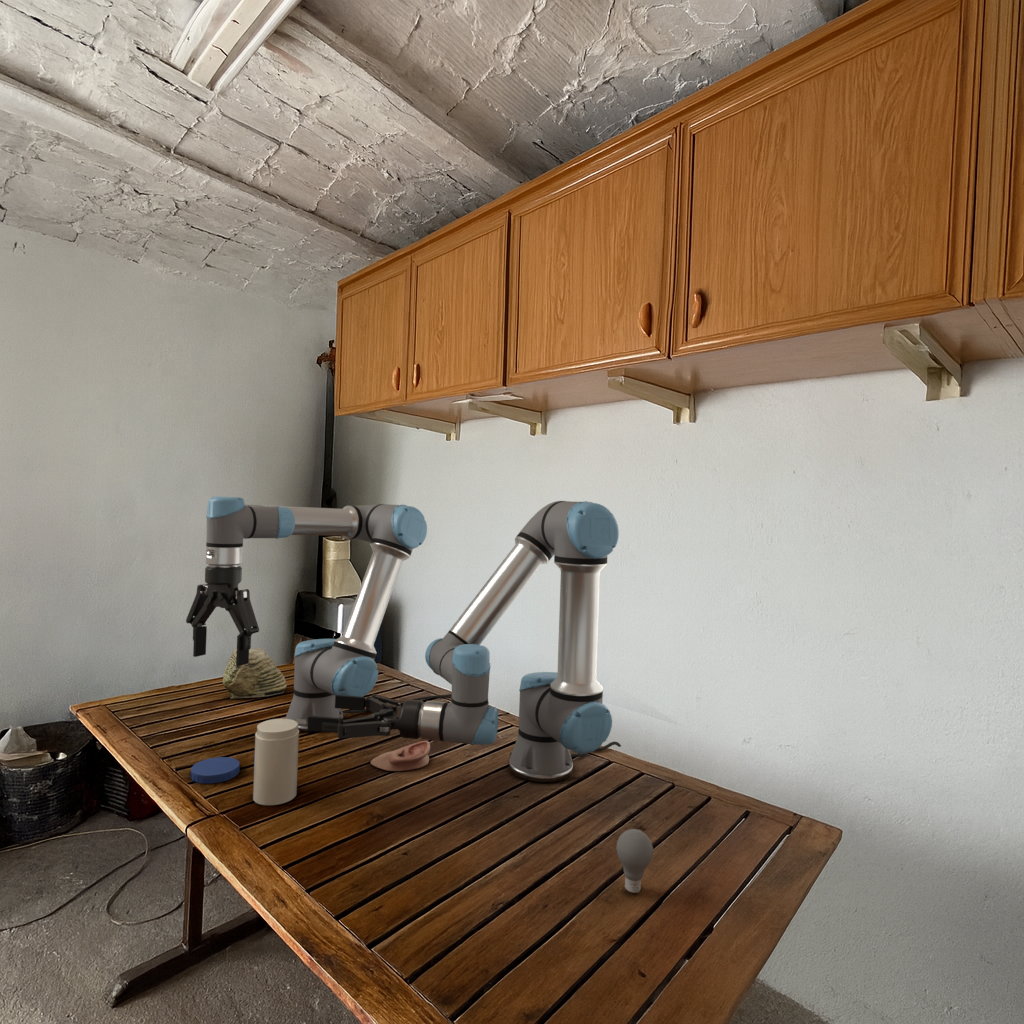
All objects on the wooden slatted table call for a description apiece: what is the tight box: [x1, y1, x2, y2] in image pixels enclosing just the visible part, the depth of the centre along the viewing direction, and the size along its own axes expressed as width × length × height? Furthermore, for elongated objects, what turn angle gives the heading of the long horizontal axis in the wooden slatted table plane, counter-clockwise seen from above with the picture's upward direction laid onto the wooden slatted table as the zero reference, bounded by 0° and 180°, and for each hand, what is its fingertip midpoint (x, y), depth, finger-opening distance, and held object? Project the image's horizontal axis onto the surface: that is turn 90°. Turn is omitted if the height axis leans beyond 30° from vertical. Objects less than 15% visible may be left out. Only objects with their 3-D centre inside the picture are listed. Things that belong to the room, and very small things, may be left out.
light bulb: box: [615, 828, 654, 894], centre depth 106 cm, size 6×6×10 cm
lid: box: [189, 756, 241, 785], centre depth 142 cm, size 10×10×2 cm
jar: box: [252, 718, 300, 806], centre depth 133 cm, size 9×9×15 cm
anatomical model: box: [370, 740, 431, 772], centre depth 153 cm, size 13×4×12 cm
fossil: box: [222, 647, 288, 699], centre depth 198 cm, size 9×18×15 cm, turn 132°
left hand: (220, 660), depth 142 cm, fingers open, 13 cm apart
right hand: (322, 711), depth 132 cm, fingers open, 13 cm apart
